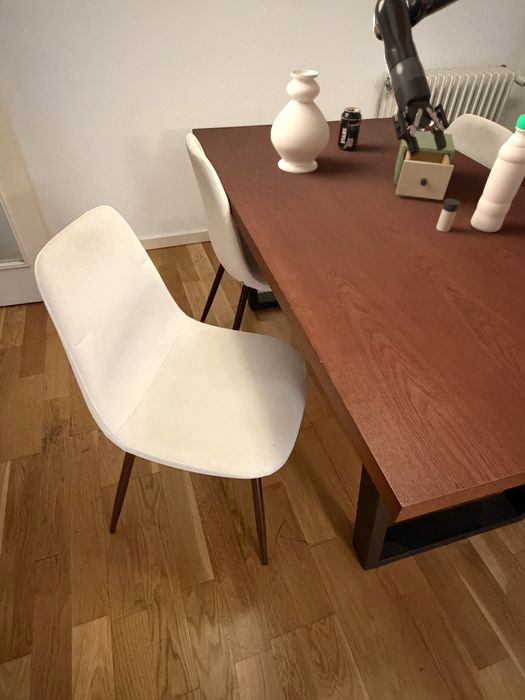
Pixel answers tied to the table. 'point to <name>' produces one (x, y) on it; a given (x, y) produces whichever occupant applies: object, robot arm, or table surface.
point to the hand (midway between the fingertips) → (429, 151)
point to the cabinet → (423, 149)
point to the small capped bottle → (447, 215)
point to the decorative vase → (300, 125)
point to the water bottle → (502, 182)
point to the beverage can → (349, 128)
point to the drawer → (425, 175)
